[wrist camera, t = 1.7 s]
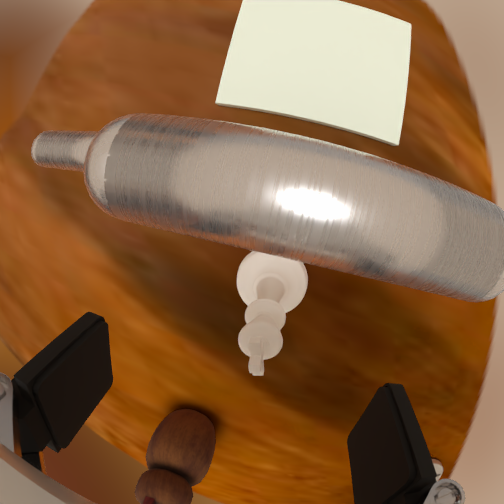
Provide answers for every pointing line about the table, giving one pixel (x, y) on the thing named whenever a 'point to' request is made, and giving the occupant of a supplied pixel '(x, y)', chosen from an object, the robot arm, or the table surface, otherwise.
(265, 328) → the chess piece
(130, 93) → the table surface
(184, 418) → the wooden figurine
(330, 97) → the pad
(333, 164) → the silver metal frame stand
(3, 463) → the robot arm
